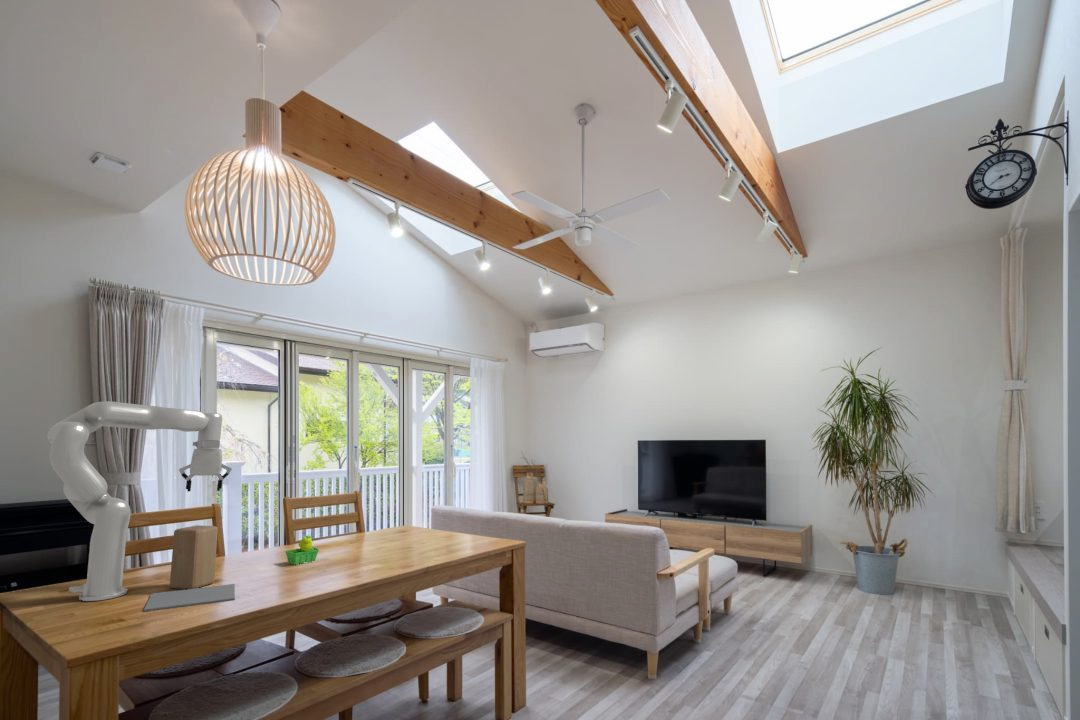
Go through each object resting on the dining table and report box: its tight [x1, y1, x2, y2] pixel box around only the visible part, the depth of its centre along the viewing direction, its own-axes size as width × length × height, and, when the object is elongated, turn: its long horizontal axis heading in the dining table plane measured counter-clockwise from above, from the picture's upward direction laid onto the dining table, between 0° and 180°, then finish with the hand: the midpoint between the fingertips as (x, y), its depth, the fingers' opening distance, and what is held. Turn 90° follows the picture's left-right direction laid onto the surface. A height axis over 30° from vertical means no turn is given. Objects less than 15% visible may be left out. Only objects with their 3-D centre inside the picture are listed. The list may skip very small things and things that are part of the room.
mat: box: [143, 583, 236, 612], centre depth 183 cm, size 24×20×1 cm
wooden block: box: [169, 524, 219, 590], centre depth 198 cm, size 10×10×20 cm
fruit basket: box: [285, 534, 320, 566], centre depth 233 cm, size 11×9×11 cm
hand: (203, 491), depth 212 cm, fingers open, 9 cm apart
